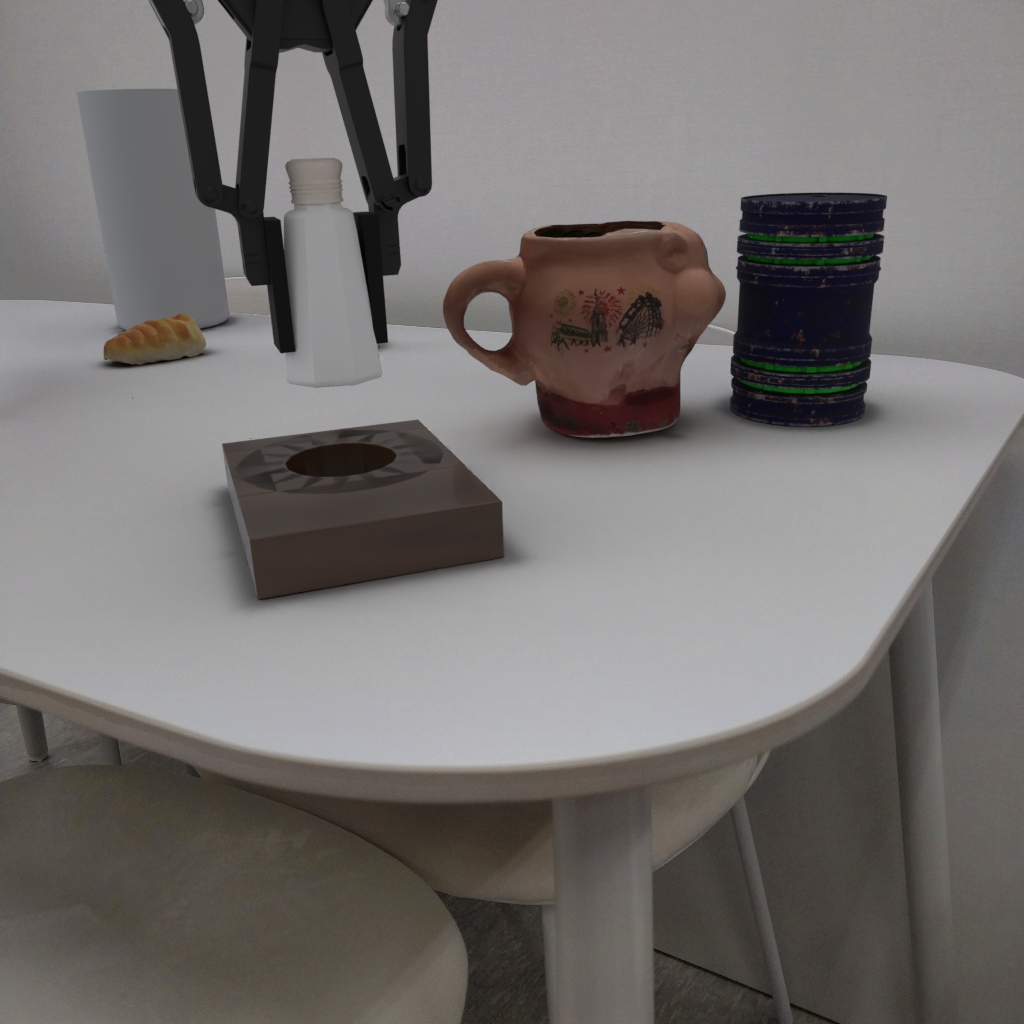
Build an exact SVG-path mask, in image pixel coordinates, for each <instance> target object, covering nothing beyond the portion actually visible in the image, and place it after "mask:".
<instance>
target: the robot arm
mask: <svg viewBox="0 0 1024 1024" xmlns="http://www.w3.org/2000/svg"><path fill="white" fill-rule="evenodd" d="M373 1H374V0H217V2H218V3H219V4H220V5H221V7H222V8H223V9H224V11H225V12H226V13H227V15H228V16H229V17H230V18H231V19H232V21H233V22H234V23H235V25H236V26H237V27H238V28H239V30H240V31H241V33H243V35H244V37H245V49H244V51H245V52H244V65H243V67H244V73H243V85H242V96H241V97H242V98H241V99H242V100H241V111H240V123H239V124H240V125H239V135H238V149H237V161H236V174H235V184H234V185H235V187H233V186H231V185H226V184H224V183H223V179H222V174H221V173H222V172H221V166H220V160H219V153H218V147H217V142H216V135H215V130H214V123H213V118H212V116H213V115H212V110H211V105H210V99H209V98H210V97H209V92H208V86H207V85H208V84H207V79H206V73H205V67H204V61H203V54H202V49H201V44H200V43H201V42H200V39H199V34H198V31H197V28H196V25H198V24H199V23H200V22H201V21H202V20H203V17H204V15H205V7H204V2H203V0H148V3H149V5H150V6H151V9H152V10H153V12H154V14H155V16H156V18H157V20H158V22H159V24H160V26H161V27H162V30H163V32H164V34H165V35H166V38H167V39H168V43H169V49H170V55H171V60H172V67H173V72H174V78H175V83H176V89H177V90H178V96H179V101H180V107H181V113H182V119H183V125H184V131H185V136H186V142H187V148H188V154H189V160H190V166H191V171H192V177H193V183H194V189H195V194H196V197H197V199H198V200H199V201H200V202H201V203H202V204H203V205H205V206H207V207H211V208H214V209H215V210H218V211H221V212H223V213H227V214H230V215H231V216H232V217H233V218H234V221H236V225H237V233H238V239H239V247H240V248H239V249H240V256H241V264H242V271H243V275H244V277H245V278H246V280H247V282H248V284H249V285H250V286H251V287H257V286H258V287H260V286H266V288H267V298H268V305H269V314H270V322H271V331H272V338H273V344H274V346H275V348H276V349H277V350H278V352H279V354H286V353H289V352H295V344H294V335H293V326H292V317H291V308H290V299H289V290H288V281H287V272H286V263H285V254H284V236H283V229H282V228H283V227H282V220H281V219H280V218H277V217H275V216H265V213H264V212H265V211H264V210H265V201H266V190H267V180H268V177H267V176H268V167H269V157H270V145H271V135H272V121H273V111H274V98H275V89H276V78H277V77H276V76H277V70H278V66H279V58H280V53H281V54H282V53H285V52H289V51H293V50H296V49H301V50H305V51H308V52H312V53H321V55H322V58H323V61H324V65H325V68H326V70H327V73H328V74H329V77H330V81H331V83H332V86H333V90H334V93H335V96H336V97H335V98H336V101H337V103H338V108H339V111H340V115H341V118H342V122H343V125H344V128H345V133H346V135H347V139H348V143H349V146H350V150H351V153H352V156H353V160H354V164H355V168H356V171H357V174H358V177H359V181H360V184H361V189H362V191H363V195H364V199H365V202H366V203H367V209H368V211H367V210H366V211H352V212H353V215H354V220H355V225H356V229H357V235H358V240H359V246H360V251H361V257H362V263H363V268H364V274H365V279H366V285H367V290H368V296H369V302H370V307H371V314H372V324H373V331H374V335H375V339H376V343H377V344H379V345H380V344H388V343H389V335H388V321H387V309H386V298H385V297H386V296H385V284H384V283H385V281H384V277H387V276H389V277H390V276H399V274H400V271H401V267H402V255H401V245H400V244H401V242H400V241H401V240H400V228H399V227H400V226H399V214H400V211H401V209H402V208H403V206H405V205H406V204H407V203H410V202H412V201H414V200H416V199H418V198H423V197H426V196H427V195H429V194H430V193H431V191H432V188H433V169H432V164H433V163H432V139H431V137H432V136H431V134H432V133H431V105H430V104H431V103H430V102H431V100H430V71H429V70H430V69H429V41H428V40H429V39H428V35H429V32H430V28H431V25H432V21H433V18H434V14H435V11H436V8H437V4H438V1H439V0H383V3H384V16H385V19H386V21H387V23H388V24H390V25H391V26H393V33H392V41H391V42H392V43H391V45H392V46H391V47H392V48H391V49H392V50H391V51H392V52H391V53H392V54H391V55H392V72H393V74H392V75H393V99H394V121H395V122H394V123H395V145H396V147H395V149H396V166H397V167H396V169H397V176H395V177H394V175H393V172H392V167H391V164H390V161H389V157H388V153H387V150H386V146H385V142H384V139H383V135H382V132H381V131H382V130H381V128H380V124H379V120H378V116H377V112H376V110H375V106H374V101H373V98H372V94H371V90H370V86H369V83H368V80H367V75H366V72H365V69H364V57H363V52H362V48H361V45H360V41H359V37H358V33H357V30H358V28H359V26H360V24H361V23H362V21H363V19H364V17H365V15H366V14H367V12H368V10H369V8H370V7H371V5H372V3H373Z"/></svg>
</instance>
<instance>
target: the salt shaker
mask: <svg viewBox="0 0 1024 1024" xmlns="http://www.w3.org/2000/svg"><path fill="white" fill-rule="evenodd" d="M284 168H285V172H286V174H287V177H288V179H289V181H288V185H289V186H288V189H290V190H289V193H290V195H291V200H290V203H291V205H293V209H290V210H287V212H285V213H284V216H283V246H284V254H285V263H286V272H287V281H288V290H289V299H290V308H291V317H292V326H293V335H294V344H295V352H289V353H285V377H286V378H285V380H286V382H287V384H289V385H293V386H294V385H295V386H300V387H308V388H313V389H319V388H334V387H346V386H347V387H348V386H357V385H360V384H363V383H366V382H369V381H372V380H373V381H374V380H376V379H379V378H381V377H382V376H383V369H382V365H381V364H382V363H381V358H380V353H379V346H377V343H376V339H375V335H374V331H373V324H372V314H371V307H370V302H369V296H368V290H367V285H366V279H365V274H364V268H363V263H362V257H361V251H360V246H359V240H358V235H357V229H356V225H355V220H354V215H353V212H354V211H352V210H351V209H350V208H348V207H343V206H342V203H343V202H344V197H343V193H342V192H343V191H344V189H343V188H342V187H343V184H342V183H343V180H342V178H341V177H342V172H343V162H342V161H341V160H340V159H339V158H336V157H318V158H317V157H316V158H315V157H314V158H313V157H311V158H294V159H293V158H292V159H290V160H289V161H286V163H285V165H284Z"/></svg>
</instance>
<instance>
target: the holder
mask: <svg viewBox="0 0 1024 1024" xmlns="http://www.w3.org/2000/svg"><path fill="white" fill-rule="evenodd" d="M221 448H222V454H223V461H224V469H225V475H226V483H227V491H228V494H229V497H230V501H231V504H232V508H233V512H234V516H235V521H236V524H237V527H238V532H239V536H240V539H241V542H242V546H243V550H244V554H245V557H246V561H247V565H248V569H249V572H250V577H251V580H252V583H253V587H254V591H255V596H256V599H257V600H263V599H268V598H274V597H280V596H286V595H291V594H298V593H302V592H303V593H304V592H309V591H315V590H321V589H325V588H332V587H339V586H344V585H349V584H356V583H361V582H367V581H373V580H378V579H379V580H380V579H384V578H391V577H396V576H402V575H407V574H414V573H419V572H424V571H430V570H435V569H442V568H443V569H444V568H447V567H453V566H458V565H465V564H472V563H477V562H484V561H487V560H493V559H499V558H504V556H505V546H504V544H505V543H504V542H505V541H504V518H503V517H504V514H503V513H504V512H503V501H502V500H501V499H500V498H499V497H498V496H497V495H496V494H495V493H494V491H492V490H491V489H490V488H489V487H488V485H486V484H485V483H484V482H483V481H482V480H481V479H480V478H479V477H478V476H477V475H476V474H475V473H473V472H472V471H471V469H469V468H468V466H466V465H465V463H464V462H463V461H462V460H461V459H460V458H458V456H457V455H456V454H454V453H453V451H451V449H449V448H448V447H447V446H446V445H445V444H444V443H443V442H442V440H440V439H439V438H438V437H437V436H436V435H435V434H434V433H433V432H432V431H431V430H430V429H429V428H427V426H425V425H424V423H422V422H421V420H419V419H410V420H403V421H402V420H401V421H393V422H386V423H377V424H369V425H362V426H355V427H346V428H345V427H344V428H337V429H330V430H321V431H314V432H305V433H298V434H290V435H289V434H288V435H281V436H272V437H264V438H257V439H255V438H254V439H249V440H248V439H247V440H239V441H232V442H224V443H221Z"/></svg>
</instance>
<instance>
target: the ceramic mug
mask: <svg viewBox="0 0 1024 1024" xmlns="http://www.w3.org/2000/svg"><path fill="white" fill-rule="evenodd" d="M709 263H710V262H709V255H708V249H707V247H706V243H704V240H703V238H702V236H700V234H699V233H698V232H696V231H695V230H694V229H692V228H690V227H688V226H686V225H685V224H682V223H679V222H674V221H665V220H664V221H663V220H649V221H647V220H646V221H645V220H620V221H619V220H618V221H606V222H600V223H576V224H575V223H573V224H549V225H542V226H538V227H535V228H532V229H530V230H527V231H526V232H524V233H523V234H522V237H521V238H520V243H519V253H518V255H517V256H516V257H513V258H509V259H505V260H504V259H499V260H498V259H497V260H488V261H487V260H485V261H482V262H477V263H476V264H473V265H471V266H469V267H467V268H466V269H464V270H463V271H461V272H460V273H458V274H457V275H456V276H455V277H454V279H452V281H451V282H450V284H449V286H448V288H447V289H446V290H447V291H446V292H445V295H444V298H443V301H442V315H443V319H444V323H445V326H446V328H447V330H448V332H449V334H450V336H451V338H452V339H453V340H454V341H455V343H456V344H457V345H459V346H460V347H461V348H462V349H464V350H465V351H466V352H467V353H468V355H469V356H471V357H472V358H473V359H475V360H476V361H478V362H480V363H481V364H482V365H483V366H485V367H486V368H487V369H488V370H490V371H491V372H494V373H497V374H499V375H502V376H504V377H506V378H508V379H509V380H511V381H512V382H514V383H515V384H517V385H520V386H521V387H525V386H527V385H529V384H531V383H532V382H534V383H535V384H534V385H535V392H536V393H535V395H536V400H537V407H538V411H539V414H540V415H539V416H540V419H541V421H542V423H544V425H545V426H546V427H547V428H549V429H550V430H552V431H555V432H557V433H560V434H563V435H568V436H570V437H576V438H590V439H591V438H592V439H593V438H594V439H595V438H615V437H626V436H627V437H628V436H635V435H640V434H645V433H653V432H658V431H662V430H665V429H668V428H670V427H672V426H673V425H674V424H676V423H677V421H678V420H679V418H680V416H681V371H682V367H683V365H684V362H686V361H685V360H686V359H687V357H688V356H689V355H690V353H691V352H692V351H693V349H694V347H695V345H697V342H698V341H699V339H700V337H701V336H702V335H703V333H705V331H706V330H707V328H708V327H709V325H710V324H711V323H712V322H713V321H714V320H715V319H716V318H717V316H718V314H719V313H720V311H722V308H723V307H724V305H725V303H726V299H727V298H726V297H727V291H726V288H725V285H724V283H723V281H721V279H720V278H719V277H718V276H717V275H716V274H715V273H714V272H713V270H712V269H711V267H710V264H709ZM483 293H494V294H499V295H501V296H502V297H503V298H505V299H506V301H507V303H508V313H509V317H510V323H511V336H510V338H509V340H508V342H507V343H506V344H505V345H504V346H503V347H502V348H499V349H496V350H489V349H486V348H484V347H483V346H482V345H480V344H479V343H478V342H477V341H475V340H474V339H473V338H472V337H471V336H470V334H469V333H468V331H467V330H466V328H465V316H466V312H467V310H468V306H469V305H470V304H471V302H472V301H473V300H474V299H475V298H476V297H477V296H479V295H481V294H483Z"/></svg>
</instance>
